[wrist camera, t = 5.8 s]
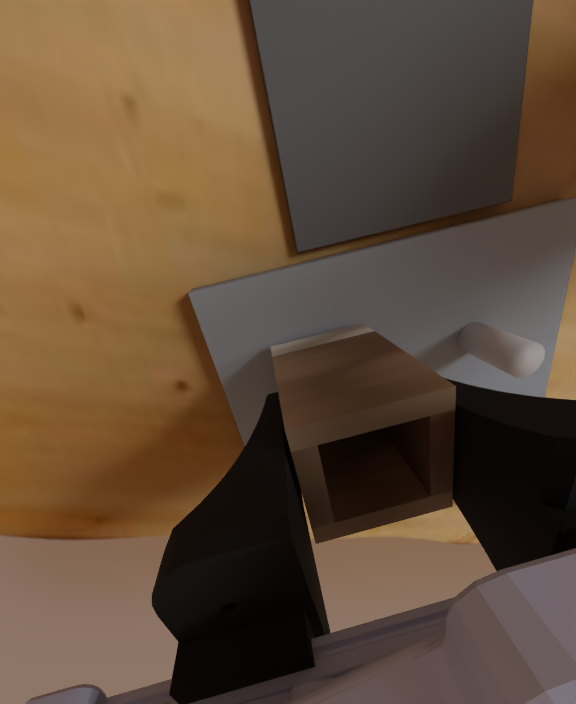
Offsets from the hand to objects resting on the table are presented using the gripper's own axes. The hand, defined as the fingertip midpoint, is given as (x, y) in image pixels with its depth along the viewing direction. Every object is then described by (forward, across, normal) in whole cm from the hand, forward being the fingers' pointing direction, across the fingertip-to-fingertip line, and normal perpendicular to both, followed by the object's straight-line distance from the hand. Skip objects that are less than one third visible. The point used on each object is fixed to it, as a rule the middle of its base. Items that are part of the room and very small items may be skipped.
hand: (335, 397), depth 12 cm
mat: (+3, -5, -11) cm, 12 cm away
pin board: (+3, -4, 0) cm, 5 cm away
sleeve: (+2, 0, 0) cm, 2 cm away
